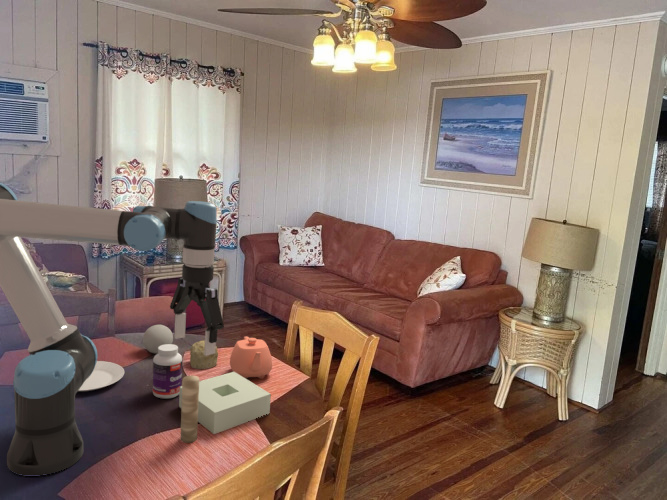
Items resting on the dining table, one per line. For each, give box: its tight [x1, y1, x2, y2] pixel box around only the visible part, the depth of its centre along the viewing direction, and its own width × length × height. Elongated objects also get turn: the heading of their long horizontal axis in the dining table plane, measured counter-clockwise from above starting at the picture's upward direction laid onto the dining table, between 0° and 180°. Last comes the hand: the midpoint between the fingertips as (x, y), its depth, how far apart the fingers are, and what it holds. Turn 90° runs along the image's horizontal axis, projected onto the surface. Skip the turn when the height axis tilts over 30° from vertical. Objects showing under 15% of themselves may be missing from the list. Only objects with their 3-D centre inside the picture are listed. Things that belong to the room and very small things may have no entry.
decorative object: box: [189, 339, 219, 370], centre depth 173 cm, size 9×10×10 cm
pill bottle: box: [152, 343, 183, 400], centre depth 150 cm, size 8×8×14 cm
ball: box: [142, 324, 174, 355], centre depth 179 cm, size 10×10×10 cm
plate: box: [77, 360, 125, 392], centre depth 155 cm, size 21×21×2 cm
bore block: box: [178, 371, 272, 435], centre depth 144 cm, size 18×18×6 cm
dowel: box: [180, 375, 200, 444], centre depth 127 cm, size 4×4×16 cm
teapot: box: [229, 335, 273, 380], centre depth 167 cm, size 13×20×12 cm, turn 22°
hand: (194, 345), depth 131 cm, fingers open, 13 cm apart
